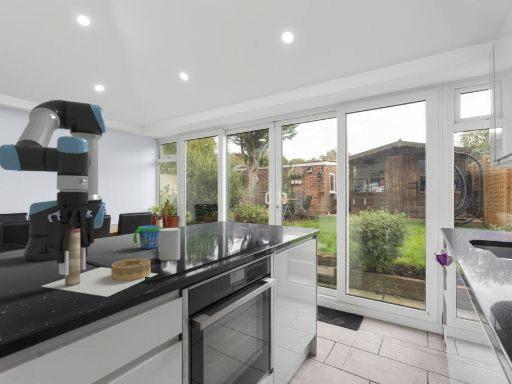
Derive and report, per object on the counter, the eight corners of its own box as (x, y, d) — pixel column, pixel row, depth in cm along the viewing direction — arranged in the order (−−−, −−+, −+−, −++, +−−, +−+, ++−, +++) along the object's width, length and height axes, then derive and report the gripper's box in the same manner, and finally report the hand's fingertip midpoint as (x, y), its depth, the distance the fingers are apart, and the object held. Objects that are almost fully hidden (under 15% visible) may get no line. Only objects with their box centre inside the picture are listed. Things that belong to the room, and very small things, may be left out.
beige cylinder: (62, 285, 77) (62, 229, 77) (73, 281, 80) (74, 227, 80) (71, 286, 76) (71, 230, 75) (83, 282, 79) (83, 228, 79)
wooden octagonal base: (103, 278, 83) (103, 265, 83) (130, 268, 93) (130, 257, 93) (132, 282, 79) (132, 269, 79) (157, 272, 90) (157, 260, 90)
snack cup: (139, 252, 120) (139, 229, 120) (128, 248, 127) (128, 227, 127) (170, 246, 132) (170, 226, 132) (158, 243, 139) (158, 224, 139)
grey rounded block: (183, 256, 112) (183, 228, 112) (175, 261, 104) (175, 231, 104) (164, 256, 113) (164, 227, 113) (155, 261, 105) (155, 230, 105)
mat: (40, 287, 76) (40, 286, 76) (100, 268, 95) (100, 267, 95) (107, 298, 69) (107, 296, 69) (158, 275, 88) (158, 273, 88)
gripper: (51, 191, 68) (50, 282, 68) (108, 191, 85) (108, 264, 85) (30, 191, 70) (30, 279, 71) (90, 191, 87) (89, 262, 87)
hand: (72, 271), depth 78 cm, fingers open, 4 cm apart
